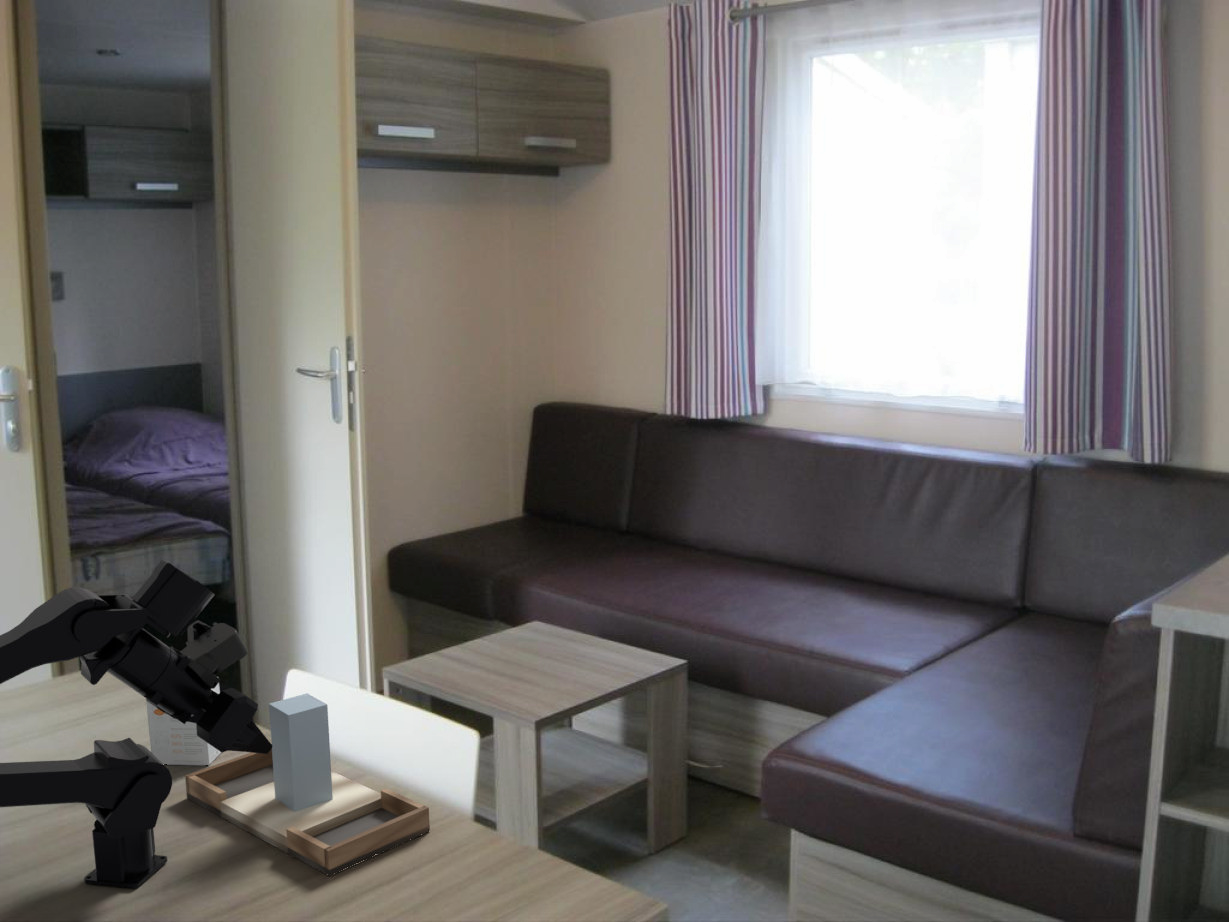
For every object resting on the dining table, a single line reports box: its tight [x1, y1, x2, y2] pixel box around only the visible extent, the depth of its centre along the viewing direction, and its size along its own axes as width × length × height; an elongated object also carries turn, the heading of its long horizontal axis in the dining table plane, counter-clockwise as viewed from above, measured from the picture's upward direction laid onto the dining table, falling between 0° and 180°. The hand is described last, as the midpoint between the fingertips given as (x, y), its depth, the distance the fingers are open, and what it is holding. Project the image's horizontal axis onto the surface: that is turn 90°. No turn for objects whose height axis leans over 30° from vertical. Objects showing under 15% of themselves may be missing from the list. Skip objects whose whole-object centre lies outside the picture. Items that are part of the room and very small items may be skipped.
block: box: [268, 693, 333, 812], centre depth 155 cm, size 5×5×12 cm
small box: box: [145, 682, 222, 766], centre depth 173 cm, size 8×6×10 cm
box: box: [184, 749, 431, 877], centre depth 157 cm, size 30×14×3 cm, turn 48°
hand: (251, 738), depth 151 cm, fingers open, 9 cm apart
